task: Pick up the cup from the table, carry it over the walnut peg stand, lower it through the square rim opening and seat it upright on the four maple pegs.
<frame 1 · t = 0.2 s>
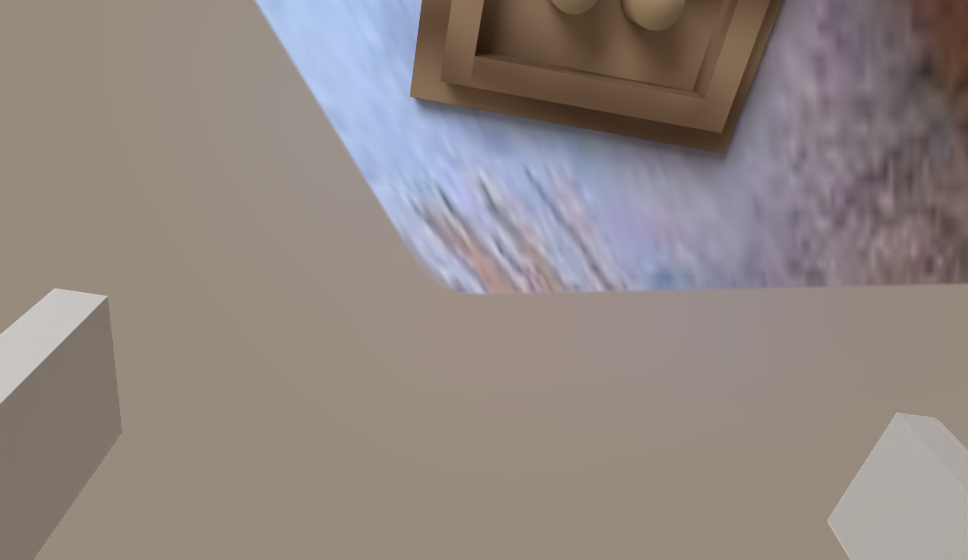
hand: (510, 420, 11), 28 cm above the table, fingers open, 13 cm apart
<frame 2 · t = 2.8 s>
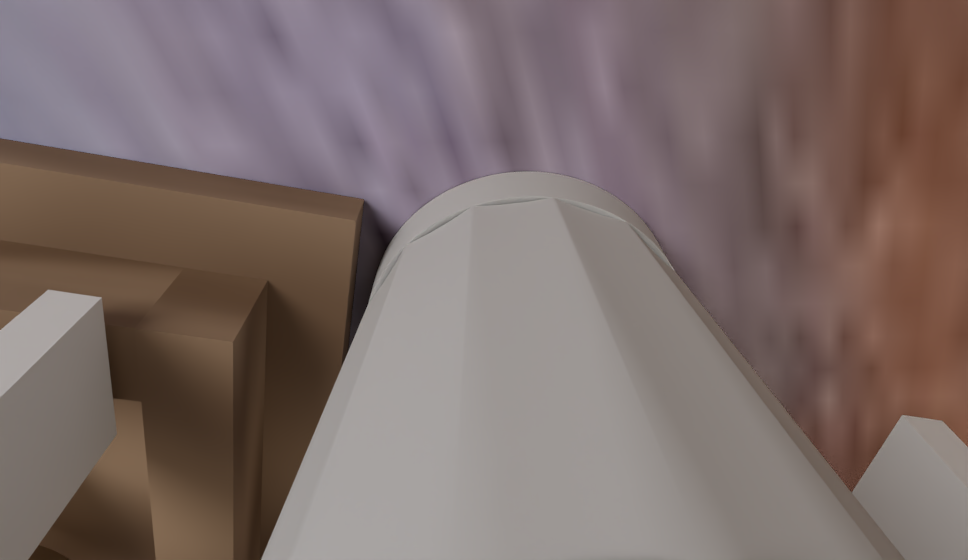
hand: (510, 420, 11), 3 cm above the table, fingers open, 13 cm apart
cup: (520, 308, 14), on the table
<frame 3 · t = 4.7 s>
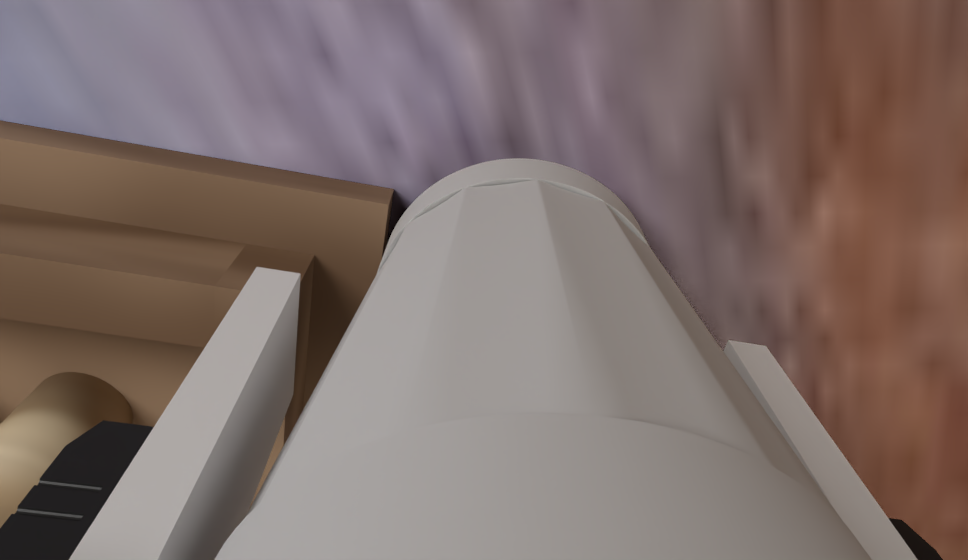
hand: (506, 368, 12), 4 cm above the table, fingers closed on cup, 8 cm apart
cup: (515, 284, 15), point 1 cm above the table, touching gripper
peg stand: (36, 432, 18), on the table
when the fingers open (6 cm above the table, at t = 9.3 s): cup stays where it is, resting on peg stand.
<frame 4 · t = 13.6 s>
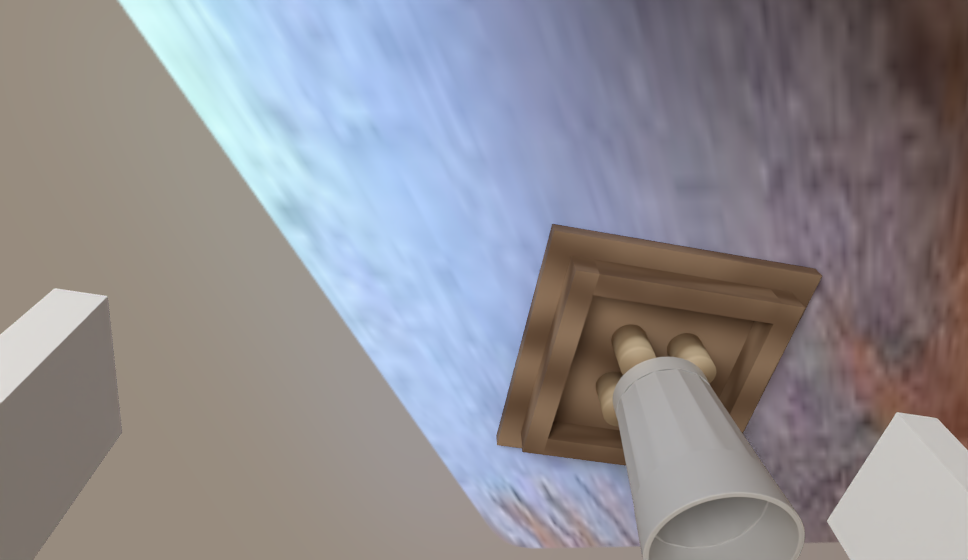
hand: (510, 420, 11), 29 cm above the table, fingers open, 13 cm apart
cup: (659, 393, 42), point 4 cm above the table, touching peg stand
peg stand: (644, 358, 46), on the table
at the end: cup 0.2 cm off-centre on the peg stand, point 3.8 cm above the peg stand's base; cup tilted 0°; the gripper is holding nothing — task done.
